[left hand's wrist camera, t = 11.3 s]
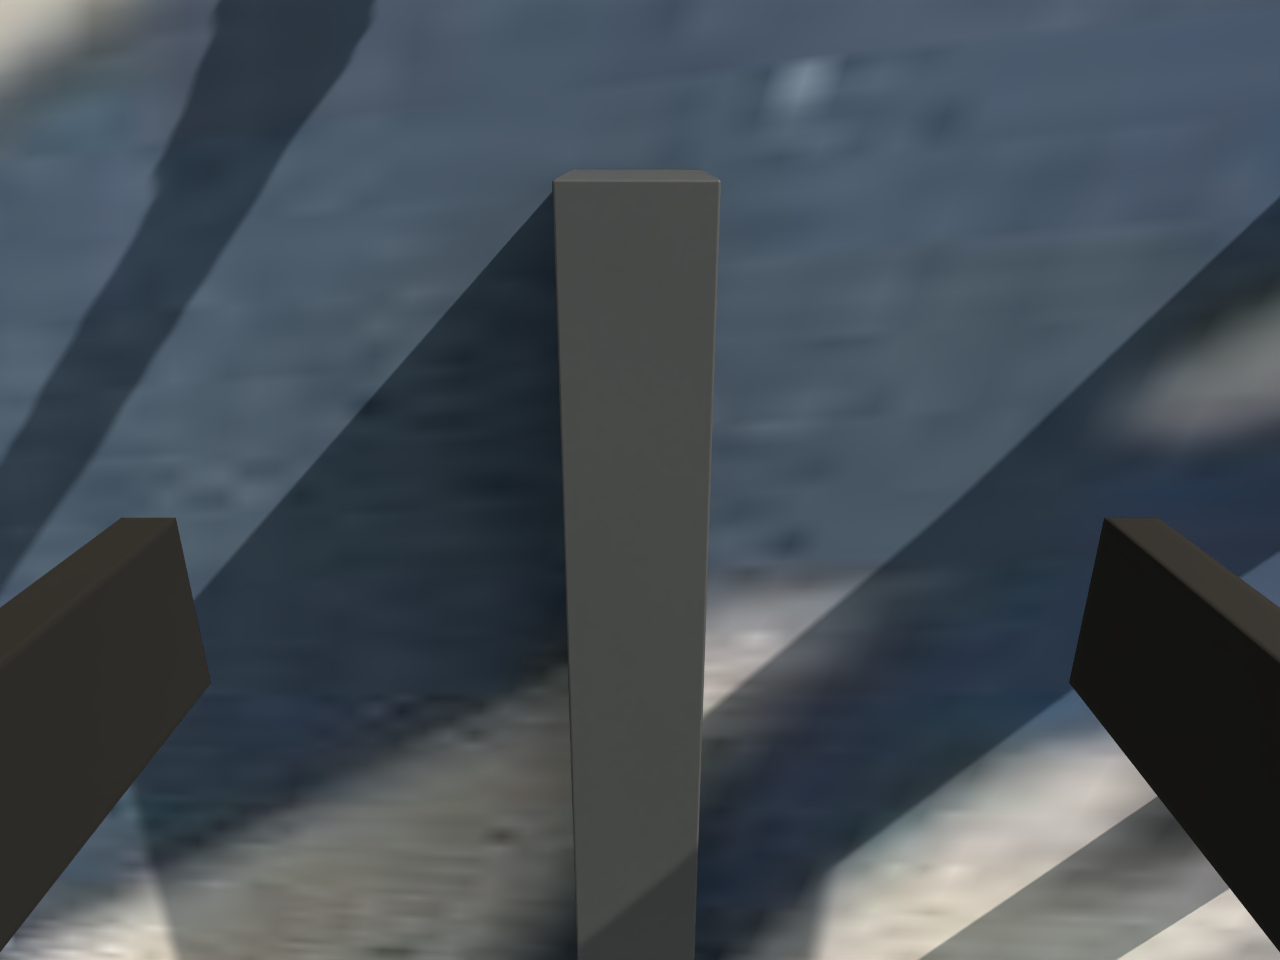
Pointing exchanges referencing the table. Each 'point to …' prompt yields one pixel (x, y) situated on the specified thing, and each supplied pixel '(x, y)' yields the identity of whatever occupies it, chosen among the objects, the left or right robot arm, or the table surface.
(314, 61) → the table surface
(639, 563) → the beam
